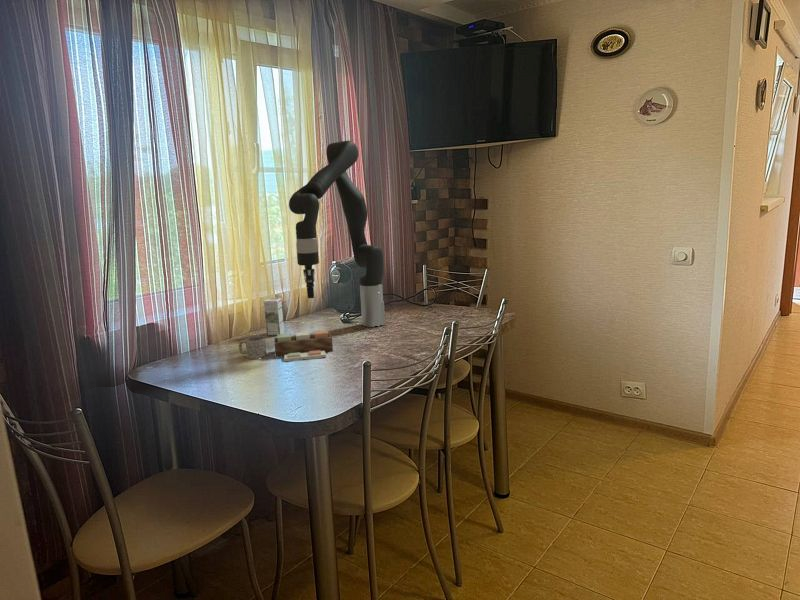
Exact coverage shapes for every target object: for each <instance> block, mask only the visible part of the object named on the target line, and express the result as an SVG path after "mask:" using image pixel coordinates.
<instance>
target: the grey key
mask: <svg viewBox="0 0 800 600" xmlns="http://www.w3.org/2000/svg"><path fill="white" fill-rule="evenodd" d="M310 334H311V333H310V331H308V330H307V331H298V332H295V336H296V340H305V339H310Z"/></svg>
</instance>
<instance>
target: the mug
mask: <svg viewBox="0 0 800 600" xmlns="http://www.w3.org/2000/svg"><path fill="white" fill-rule="evenodd" d="M243 344H245V350H246V351H245V350H243V346H242V345H243ZM238 350H239V352H240V354H243V355H246V359H247V360H260V359H259V358H261V359H264V358H266V357H267V349H266V338H265V336H263V335H252V336H248V337H246V338H245V339H241V340H240V341H238ZM263 357H264V358H263Z"/></svg>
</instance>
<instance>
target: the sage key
mask: <svg viewBox="0 0 800 600" xmlns="http://www.w3.org/2000/svg"><path fill="white" fill-rule="evenodd" d="M291 336H292V333H291V332H289V333H288V332H287V333H283V334H277V335H276V337H277V340H278V342H285V341H292V340H291Z"/></svg>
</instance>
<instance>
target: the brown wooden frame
mask: <svg viewBox="0 0 800 600" xmlns="http://www.w3.org/2000/svg"><path fill="white" fill-rule="evenodd" d="M291 340H292V341H285V342H278V340H277V336H276V337H275V336H274V353H275V358H280V357H281V356H282V357H284V355H287V354H289V353H297V352H300V353H306V352H309V351H317V350H321V351H325V353H330V351H331V352H334V348H333V347H334V346H333V337H332V334H331V332H330V331H328V337H326V338H314V333H310V339H305V340H296V335H291ZM282 357H281V358H282Z"/></svg>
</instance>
